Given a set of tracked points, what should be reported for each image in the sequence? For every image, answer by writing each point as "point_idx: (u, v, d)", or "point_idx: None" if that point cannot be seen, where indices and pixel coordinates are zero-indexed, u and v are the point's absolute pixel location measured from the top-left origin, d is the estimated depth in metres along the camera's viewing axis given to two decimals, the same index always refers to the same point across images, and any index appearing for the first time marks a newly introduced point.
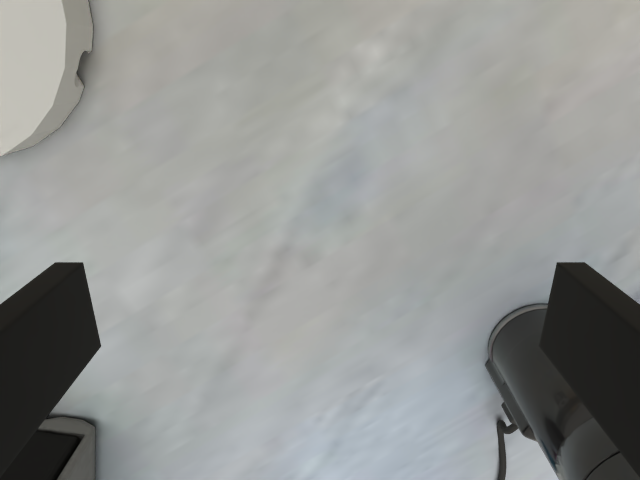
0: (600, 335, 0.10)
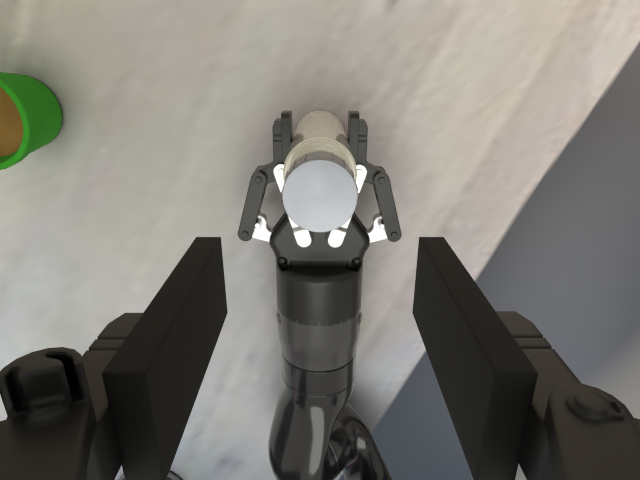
0: (434, 295, 0.12)
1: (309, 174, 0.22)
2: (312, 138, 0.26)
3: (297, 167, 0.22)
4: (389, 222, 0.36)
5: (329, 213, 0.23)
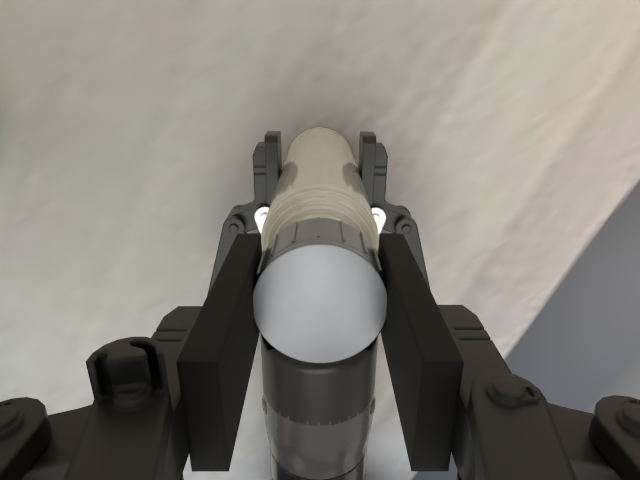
0: (388, 289, 0.12)
1: (300, 269, 0.12)
2: (307, 187, 0.16)
3: (278, 257, 0.12)
4: None
5: (337, 333, 0.13)
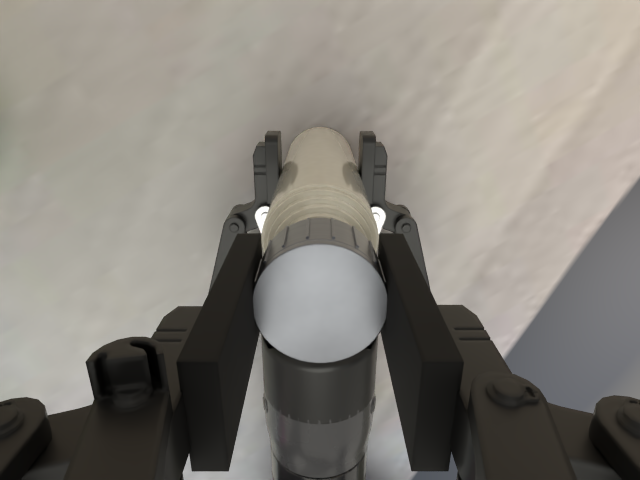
0: (388, 290, 0.12)
1: (305, 343, 0.13)
2: (307, 186, 0.16)
3: (311, 361, 0.13)
4: None
5: (329, 276, 0.12)
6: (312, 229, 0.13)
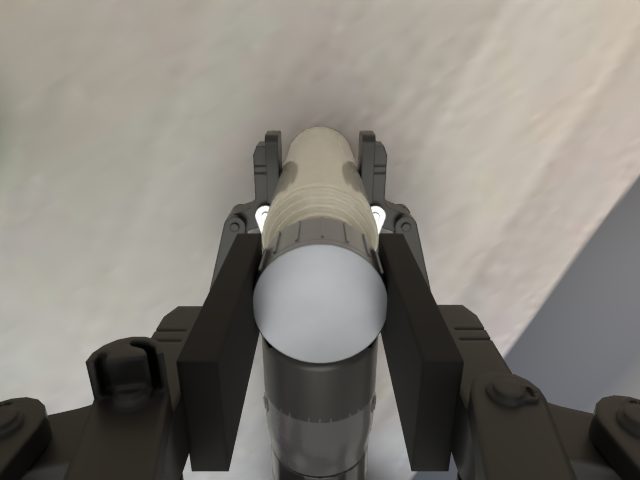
0: (388, 289, 0.12)
1: (362, 289, 0.12)
2: (307, 185, 0.16)
3: (374, 268, 0.12)
4: None
5: (290, 323, 0.13)
6: None
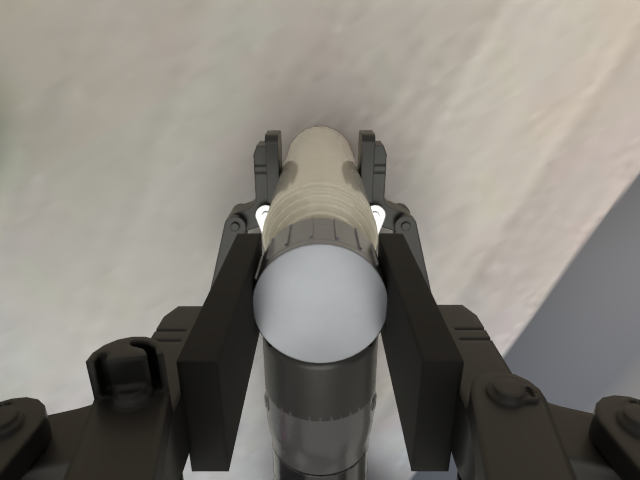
0: (388, 289, 0.12)
1: (276, 294, 0.12)
2: (307, 184, 0.17)
3: (253, 301, 0.13)
4: None
5: (354, 313, 0.13)
6: None
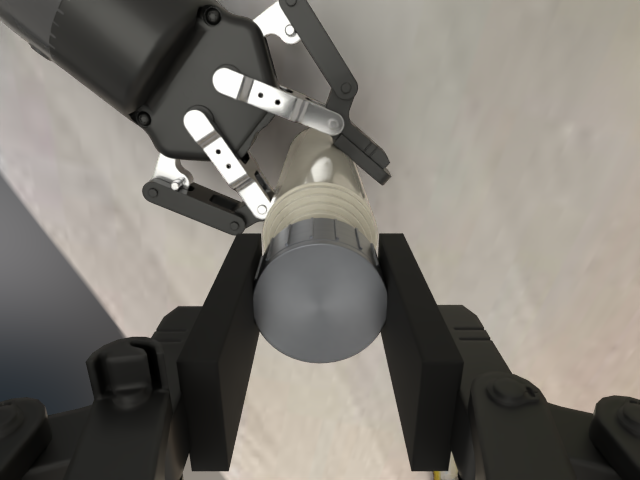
0: (388, 290, 0.12)
1: (276, 294, 0.12)
2: None
3: (253, 301, 0.13)
4: (174, 198, 0.25)
5: (354, 313, 0.13)
6: None
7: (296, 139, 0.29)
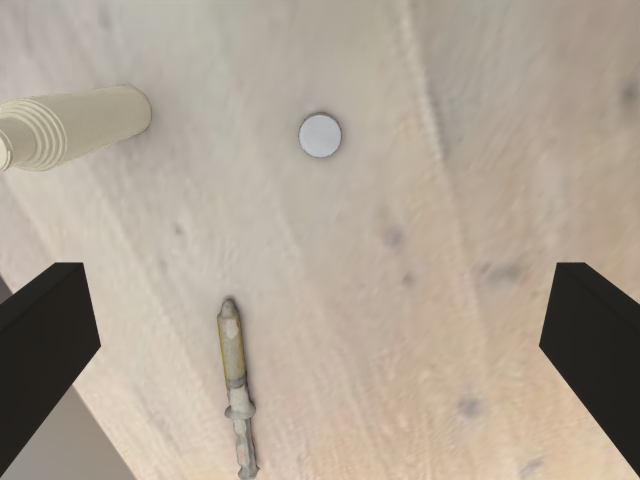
0: (600, 335, 0.10)
1: (306, 132, 0.41)
2: (64, 155, 0.28)
3: (299, 134, 0.41)
4: None
5: (330, 139, 0.41)
6: (340, 131, 0.42)
7: None
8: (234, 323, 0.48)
